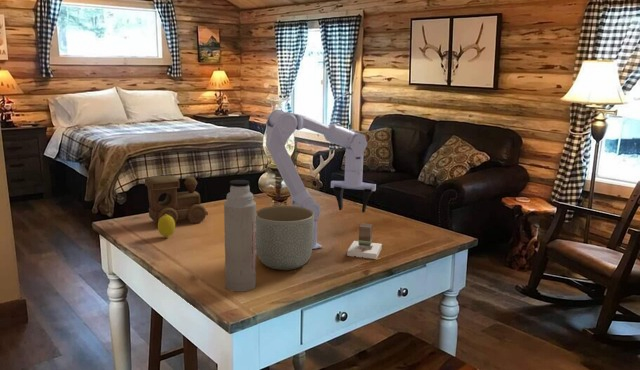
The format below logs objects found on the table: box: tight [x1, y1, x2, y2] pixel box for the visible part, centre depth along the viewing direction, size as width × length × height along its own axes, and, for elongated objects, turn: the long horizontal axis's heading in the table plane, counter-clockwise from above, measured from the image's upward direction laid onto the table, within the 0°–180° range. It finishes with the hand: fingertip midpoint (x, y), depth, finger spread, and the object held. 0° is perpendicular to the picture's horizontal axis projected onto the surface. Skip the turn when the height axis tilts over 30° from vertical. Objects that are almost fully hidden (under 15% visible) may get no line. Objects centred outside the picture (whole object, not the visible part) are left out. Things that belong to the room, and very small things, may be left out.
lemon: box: [157, 214, 176, 238], centre depth 179 cm, size 6×6×8 cm
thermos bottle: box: [223, 179, 257, 292], centre depth 141 cm, size 8×8×28 cm
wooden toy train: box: [144, 174, 209, 224], centre depth 196 cm, size 20×11×17 cm, turn 121°
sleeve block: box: [346, 240, 383, 260], centre depth 171 cm, size 10×9×2 cm
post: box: [357, 222, 373, 246], centre depth 170 cm, size 4×4×6 cm
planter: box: [256, 205, 314, 271], centre depth 158 cm, size 17×17×15 cm
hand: (352, 210), depth 179 cm, fingers open, 7 cm apart
